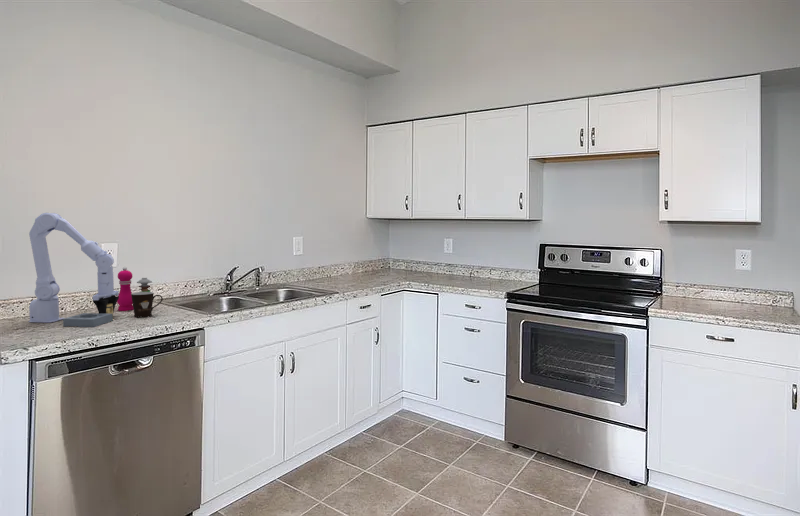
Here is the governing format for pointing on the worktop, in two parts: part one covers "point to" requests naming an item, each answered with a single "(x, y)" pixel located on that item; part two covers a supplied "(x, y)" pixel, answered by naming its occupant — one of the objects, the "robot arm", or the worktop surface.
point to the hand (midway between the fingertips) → (106, 314)
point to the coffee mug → (143, 303)
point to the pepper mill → (125, 290)
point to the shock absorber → (144, 285)
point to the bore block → (88, 319)
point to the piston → (109, 308)
